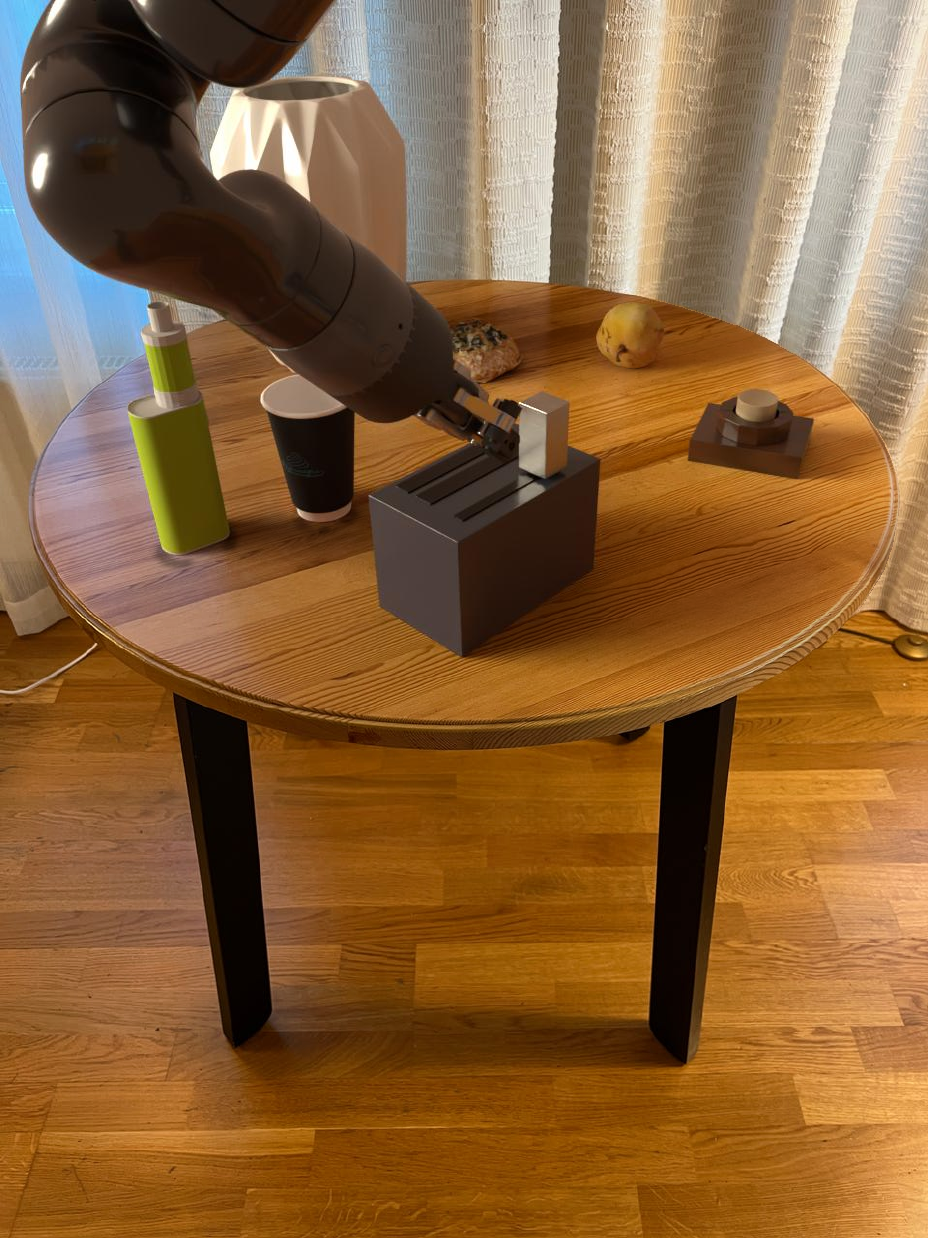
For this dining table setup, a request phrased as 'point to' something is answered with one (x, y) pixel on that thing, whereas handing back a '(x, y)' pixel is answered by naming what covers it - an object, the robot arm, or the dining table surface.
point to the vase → (324, 154)
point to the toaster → (481, 542)
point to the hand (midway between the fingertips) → (506, 447)
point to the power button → (756, 405)
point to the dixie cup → (313, 446)
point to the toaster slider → (543, 434)
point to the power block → (751, 440)
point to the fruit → (630, 335)
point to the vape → (177, 442)
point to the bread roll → (484, 350)
